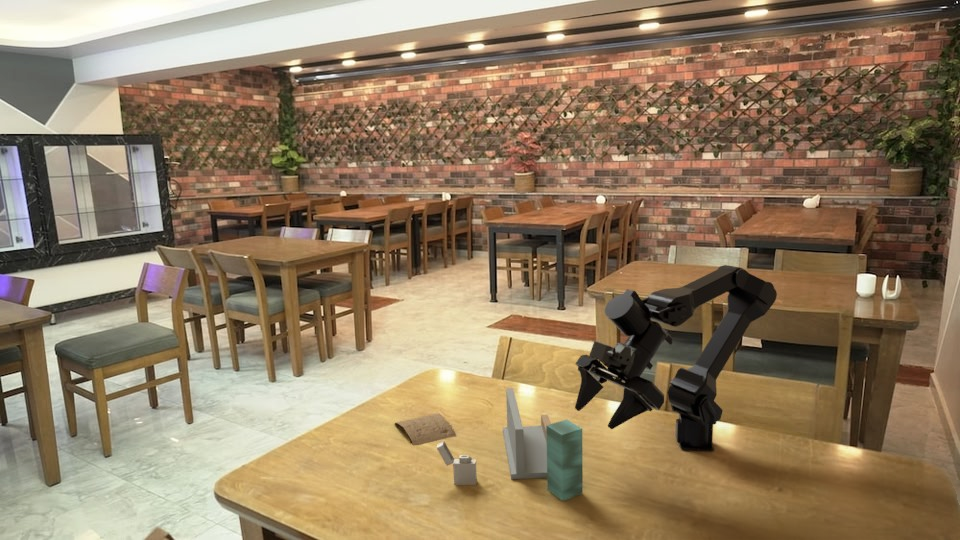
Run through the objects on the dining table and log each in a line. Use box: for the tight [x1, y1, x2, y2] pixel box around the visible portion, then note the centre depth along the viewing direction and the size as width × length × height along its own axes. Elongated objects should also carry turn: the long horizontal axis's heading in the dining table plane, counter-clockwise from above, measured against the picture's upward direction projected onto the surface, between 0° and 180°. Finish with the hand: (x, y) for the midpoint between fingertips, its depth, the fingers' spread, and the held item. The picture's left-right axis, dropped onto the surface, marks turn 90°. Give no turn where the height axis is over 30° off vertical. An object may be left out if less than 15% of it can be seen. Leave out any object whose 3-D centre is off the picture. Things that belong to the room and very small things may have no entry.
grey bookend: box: [502, 387, 552, 480], centre depth 124 cm, size 11×20×10 cm, turn 2°
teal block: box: [546, 419, 584, 502], centre depth 109 cm, size 4×4×12 cm
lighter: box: [436, 440, 478, 486], centre depth 114 cm, size 7×2×8 cm, turn 85°
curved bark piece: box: [394, 412, 457, 446], centre depth 137 cm, size 14×10×3 cm
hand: (592, 418), depth 111 cm, fingers open, 9 cm apart
